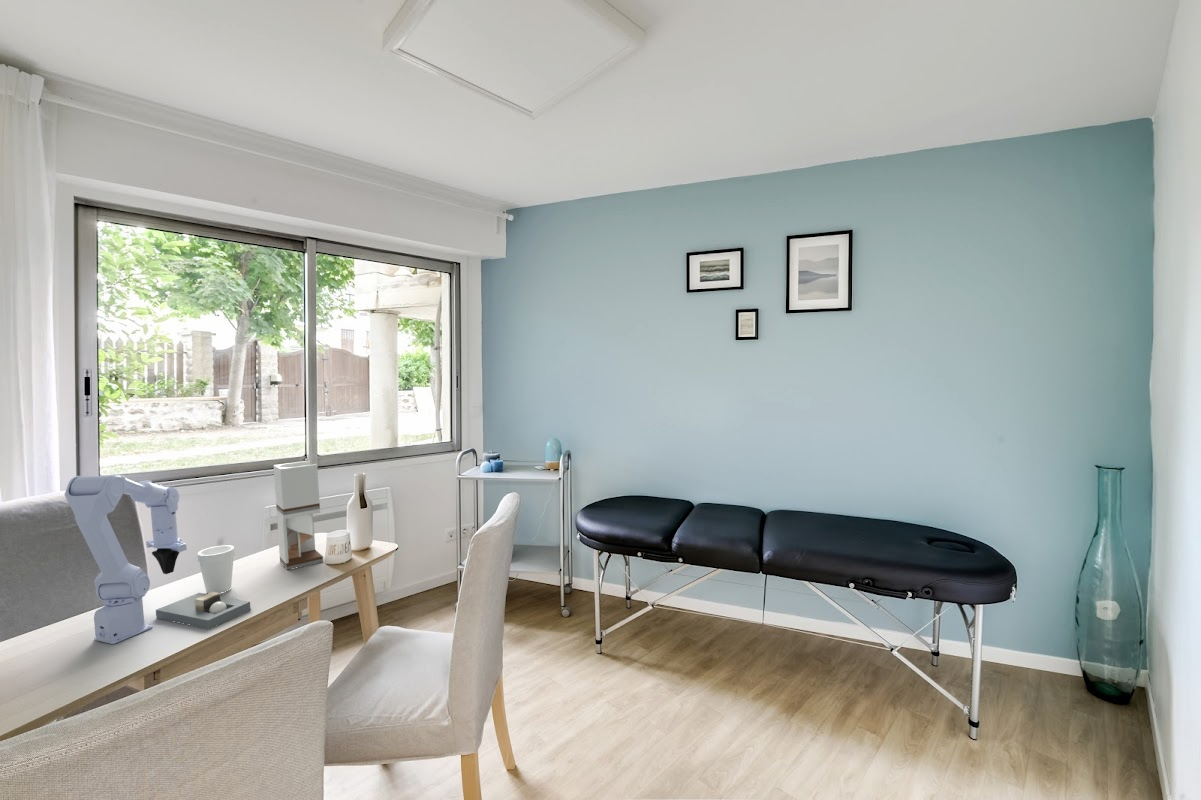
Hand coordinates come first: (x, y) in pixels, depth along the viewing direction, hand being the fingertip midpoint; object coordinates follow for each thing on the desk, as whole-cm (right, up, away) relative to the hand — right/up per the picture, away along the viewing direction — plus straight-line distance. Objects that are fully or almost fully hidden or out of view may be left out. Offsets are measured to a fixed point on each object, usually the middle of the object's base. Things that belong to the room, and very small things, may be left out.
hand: (168, 572), depth 166 cm
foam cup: (+9, -9, +9) cm, 15 cm away
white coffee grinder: (+22, -7, +33) cm, 40 cm away
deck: (+15, -10, -7) cm, 20 cm away
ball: (+21, -7, -9) cm, 24 cm away
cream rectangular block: (+17, -7, -8) cm, 20 cm away
